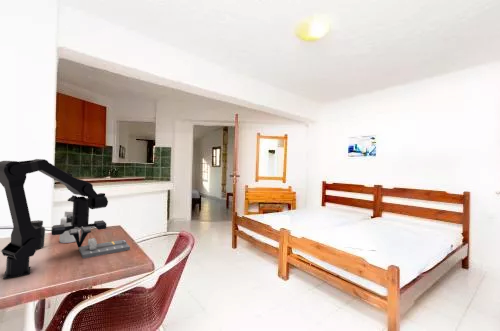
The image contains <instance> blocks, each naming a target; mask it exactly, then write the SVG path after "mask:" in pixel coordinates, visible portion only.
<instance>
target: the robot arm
mask: <svg viewBox="0 0 500 331" xmlns="http://www.w3.org/2000/svg"><path fill="white" fill-rule="evenodd" d="M35 172H40V173H42V174H44V175H45V176H47V177H49V178H51V179H52V180H54V181H57V182H59V183H60V184H62V185H64V186H65V188H66V190H68V191H70V192H71V193H72V194H73V195H71V197H70V198H68V199H67V202H72V210H73V216H72V215H67V218H66V223H71V225H72V226H64V224H62V225H60V224H54V225H52V226H51V236H57V235H58V236H60V234H63V233H64V232H65V231H69V234H70V235H73V236H74V238H75V240H76V241H75V243H76V246H77V248H78V249H79V247H81V246H83V243H84V241H85V239H86V238H87V236H88V234H90V233H92V231H91V229H93V228H96V229H97V230H98V231H100V230H106V229H107V222H106V221H105V220H94V222H93V223H89V221H90V220H89V219H90V217H89V216H90V209H91V210H95V209H96V210H97V209H103V208H106V207H107V206H108V204H109V200H108V197H107V196H106V193H104V192H103V193H102V192H100V193H97V192H96V190H95V189H94V187H93V183H91V182H90V181H89V182H88V181H85V180H84V179H79V178H77V177H74V176H73V175H72V174H69V173H67V172H66V171H64V170H63V169H61V168H59V167H57V166H55V164H52V163H50V162H49V161H48V160H47V159H43V158H42V159H41V158H35V159H31V160H21V161H18V160H17V161H16V160H1V161H0V185H1V186H2V187H3V188H4V191H5V195H6V201H7V204H8V208H9V213H10V217H11V221H12V225H13V226H12V227H13V229H12V231H11V234H10V242H8V244H7V245H5V246H4V247H3V248H2V249H1V250H0V252H1V254H2V255H3V256H4V257H6V264H5V265H6V266H5V271H4V274H3V280H5V279H11V278H15V277H16V278H17V277H21V276H25V275H26V276H27V275H30V274H31V266H30V259H31V258H30V257H34V256H35V254H36V251H37V250H38V249H37V247H38V246H39V245H40V244H41V238H43V237H42V235H41V228H40V227H36V226H33V225H32V223H31V221H32V218H31V215H30V209H29V205H28V201H27V196H26V192H25V187H24V186H25V183H26V179H27V175H28V174H33V173H35ZM75 227H77V228H75ZM79 229H80V237H79V232H78V230H79ZM36 249H37V250H36Z"/></svg>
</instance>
